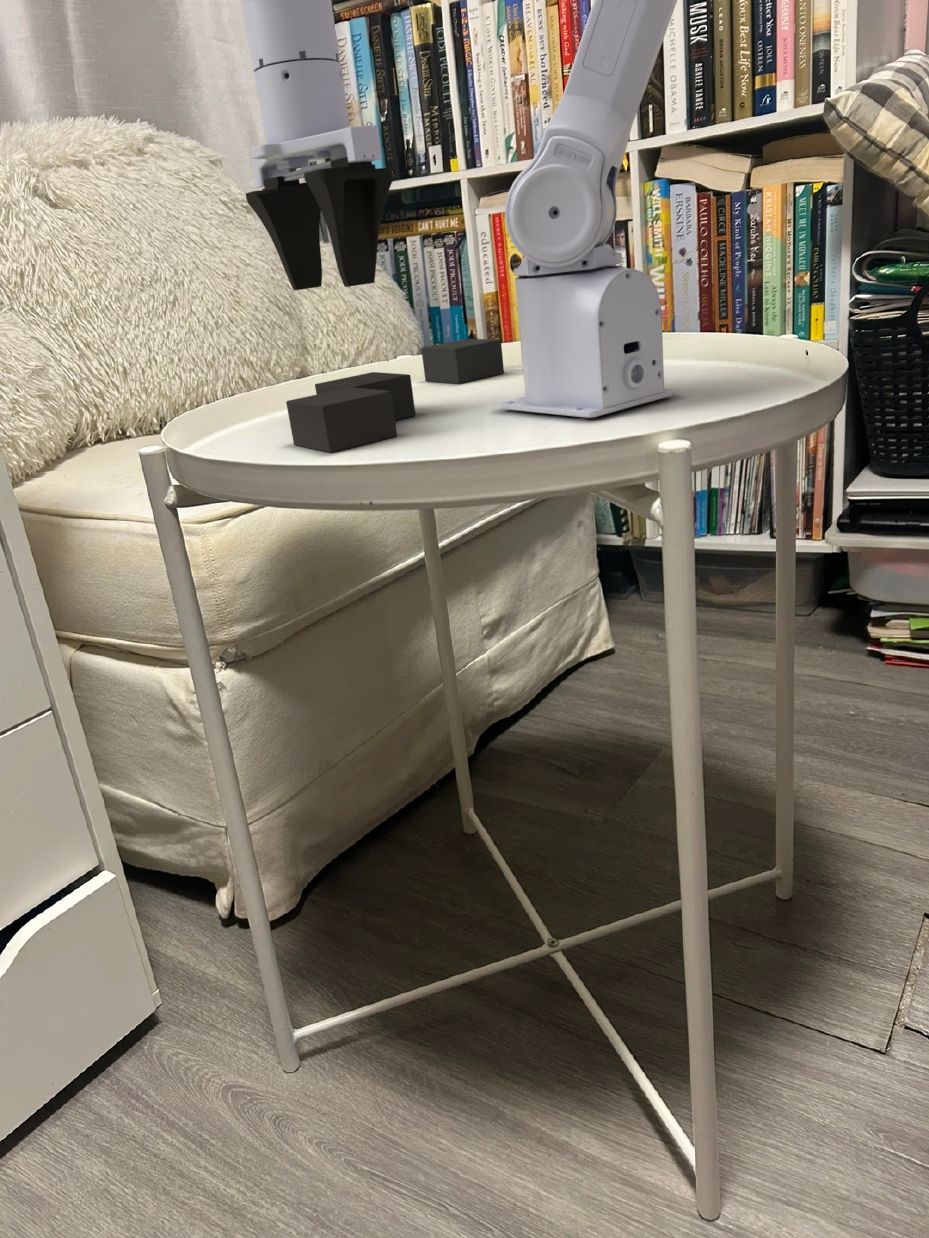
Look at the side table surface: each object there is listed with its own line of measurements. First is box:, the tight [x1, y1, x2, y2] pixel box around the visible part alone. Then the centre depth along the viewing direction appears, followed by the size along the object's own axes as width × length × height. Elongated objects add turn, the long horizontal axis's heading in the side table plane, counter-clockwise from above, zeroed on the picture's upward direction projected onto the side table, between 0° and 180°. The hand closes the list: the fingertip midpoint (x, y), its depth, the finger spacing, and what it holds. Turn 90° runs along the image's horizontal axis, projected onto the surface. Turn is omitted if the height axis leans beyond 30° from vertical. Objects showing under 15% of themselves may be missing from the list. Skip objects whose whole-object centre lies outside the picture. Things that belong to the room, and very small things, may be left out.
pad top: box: [314, 371, 417, 421], centre depth 70 cm, size 5×5×3 cm
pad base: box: [420, 338, 505, 385], centre depth 85 cm, size 5×5×3 cm
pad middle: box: [286, 387, 398, 454], centre depth 63 cm, size 5×5×3 cm
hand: (332, 287), depth 67 cm, fingers open, 7 cm apart
